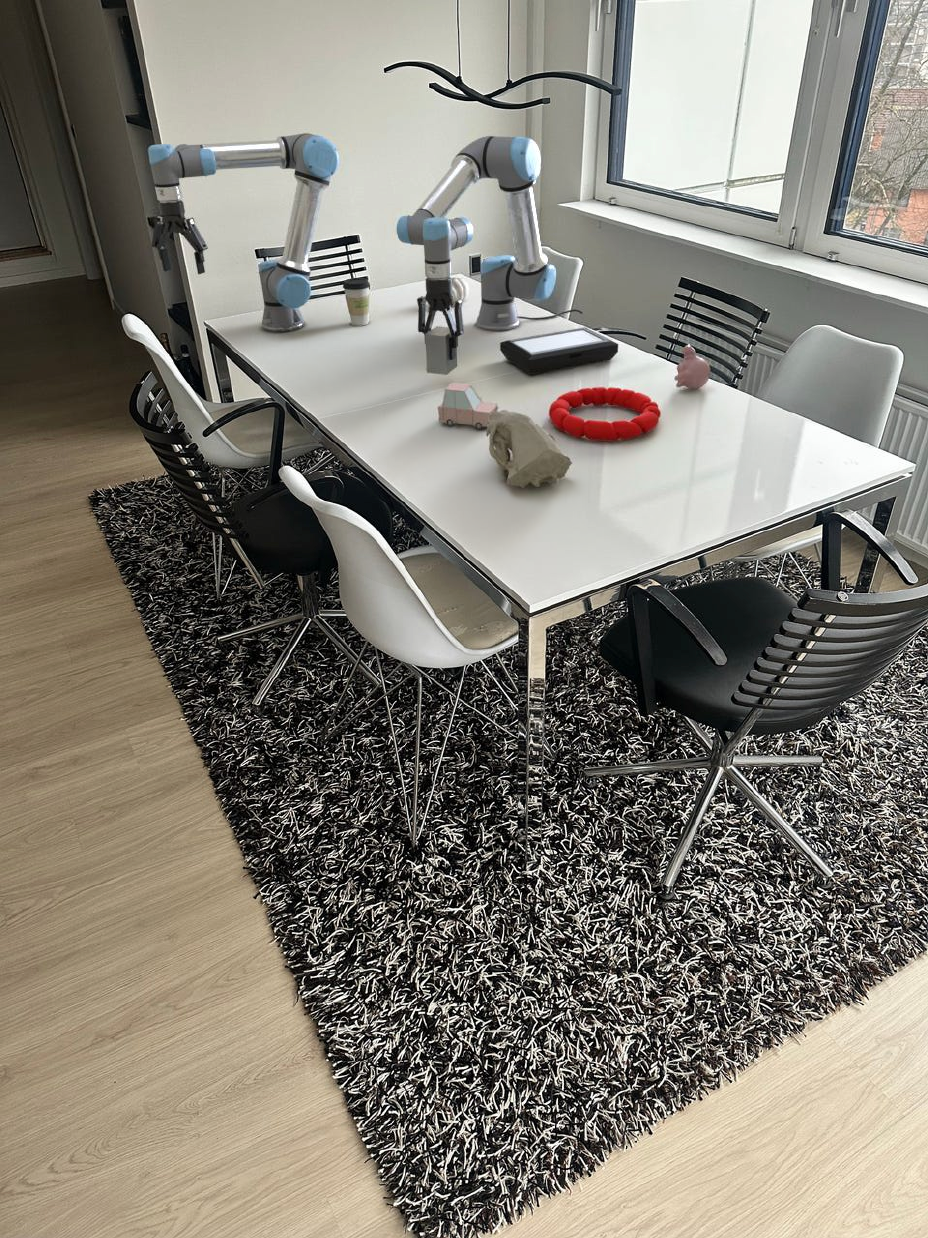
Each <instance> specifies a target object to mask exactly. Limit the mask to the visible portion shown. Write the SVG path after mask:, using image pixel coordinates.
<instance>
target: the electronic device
mask: <svg viewBox="0 0 928 1238" xmlns="http://www.w3.org/2000/svg"><path fill="white" fill-rule="evenodd" d="M499 350H500V353H502V355H503V356H504V358H505V359H506V360H507V361H508V362H510V363H511V364H512V365H515V366H517V367H518V368H520V369H521V370H523V371H525V372H526V373H528V374H529V375H530V376H532V375H535V374H542V373H547V372H548V373H549V372H552V371H558V370H564V369H570V368H575V367H580V366H586V365H592V364H597V363H602V362H608V361H611V360H612V359H613V358H614V357H615V356H616V355H617V354H618V352H619V343H617V342H616V341H613V340H612V339H609V338H607V337H605V336H603V335H601V334H599V333H597V332H595V331H594V330H591V329H589V328H587V327H585V326H584V327H579V328H572V329H566V330H561V331H555V332H549V333H543V334H537V335H532V336H525V337H519V338H514V339H508V340H505V341H502V342H499Z"/></svg>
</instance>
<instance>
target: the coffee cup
mask: <svg viewBox="0 0 928 1238" xmlns="http://www.w3.org/2000/svg"><path fill="white" fill-rule="evenodd" d="M370 287H371V283H370V282H369V279H367V278H365V277H351V278H347V279H345V280H344V281H343V285H342V288H343V290H344V297H345V301H346V305H347V310H348V314H349V318H350V323H351V325H353V326H357V327H359V326H365V325H368V324H369V317H370V316H369V313H370Z"/></svg>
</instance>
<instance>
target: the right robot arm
mask: <svg viewBox="0 0 928 1238" xmlns="http://www.w3.org/2000/svg"><path fill="white" fill-rule="evenodd" d="M541 163H542V157H541V152H540V149H539V146H538V144H537V142H535V141H534V140H533V139H532V138H529V137H523V136H519V135H518V136H499V135H497V136H496V135H495V136H494V135H486V136H482V137H479V138H477V139H475V140H474V141H471V142H470V143H469V144H468V145H467V144H466V146H464V147H463V148H462V149H461V150H459V152H458V153H457V154H456V155H455V157H454V158H453V159H452V161H451V164H450V168H449V169H448V170H447V172H446V173H445V174H444V176H443V177H442V178H441V179H440V181H439V182H438V183H437V184H436V186H435V187H434V188H433V190H432V191H430V193H429V194H428V196H427V197H426V198H425V199H424V200H423V202H422V203H421V204H420V206H419V207H418V208H417V209H416V210H415V211H414V213H413V214H412V215H410V214H407V215H403V216H401V217H399V219H398V220H397V223H396V235H397V238H398V240H399V241H400V242H401V243H404V244H408V245H409V244H410V245H411V246H413V245H416V246H423V253H424V275H425V291H426V292H425V295H424V296H423V295H421V296H419V297H418V298H417V299H416V302H417V305H418V306H417V307H418V310H417V311H418V313H417V332H418V333H422V334H423V336H424V337H425V334H426V333H428V332H429V331H431V330H432V329H433V324H434V320H435V317H436V313H437V312H442V315H443V317H444V318H445V322H446V324H447V327H449V330H450V333H451V337H450V338H449V348H450V360H453V359H454V358H455V357H456V348H457V349H458V347H459V337H461V336H462V335H463V334H464V333H465V329H464V320H463V312H462V310H463V309H462V307H463V303H462V300H461V299H460V300H457V299H454V298H453V295H452V278H453V277H452V272H453V271H452V251H453V250H457V249H459V248H463V247H464V246H466V245H467V244H469V243H470V242H471V241H472V240H473V237H474V227H473V224H472V222H471V221H470V220H469V219H467V218H466V217H464V216H461V217H455V218H452V219H451V218H447V215H448V214H449V213H450V212H451V210H453V208H454V206H455V205H456V203H458V201H459V200H460V198H461V197H462V196H463V195H464V194H465V192H466V191H467V190H468V188H469V187H470V186H471V187H472V186H474V185H476V184H477V182H478V181H479V180H481V179H494V180H497V182H498V187H499V190H500V191H502V192H503V193H504V195H505V201H506V206H507V212H508V217H509V223H510V229H511V235H512V240H513V246H514V252H515V257H514V255H511V254H502V255H496V256H491V257H488V258H485V259H484V260H482V261H481V264H480V274H479V275H480V296H481V302H480V303H481V304H480V308H479V312H478V316H477V318H476V326H477V327H478V329H481V330H485V331H490V332H502V331H510V330H513V329H516V328H518V327H519V326H520V319H522V320H529V321H534V320H536V321H538V320H548V319H553V318H556V317H557V316H561V315H564V314H568V313H569V314H570V313H572V312H577V313H579V314H580V315H583V314H584V313H583V311H581V310H579V309H575V308H574V309H569V310H565V311H560V312H558V313H555V314H553V315H549V316H544V317H543V316H541V317H529V316H528V317H527V316H519V315H518V311H517V307H516V304H515V298H516V299H524V300H533V301H534V302H536V301H546V300H548V299H549V298H550V296H551V295H552V293H553V291H554V287H555V284H556V278H557V270H556V267H555V266H554V265H552V264H549V262H548V257H547V255H546V254H545V253H544V252H542V246H541V238H540V231H539V225H538V218H537V211H536V205H535V197H534V191H533V186H534V185H535V183H536V180H537V179H538V177H539V176H540V172H541ZM451 303H453V304H451ZM426 304H428V305H429V306H428V307H429V308H428V311H427V305H426ZM451 305H452V307H453V312H454V316H453V313H452V308H451ZM426 311H427V313H428V314H427V315H426ZM426 317H427V318H426ZM424 344H425V346H426V343H425V342H424Z"/></svg>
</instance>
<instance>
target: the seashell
mask: <svg viewBox="0 0 928 1238" xmlns="http://www.w3.org/2000/svg"><path fill="white" fill-rule="evenodd" d="M451 278H452V295H453V298H454V299H457V300H460V299H461V300H462V304H463V303H464V302H465V301H466V299H467V298H468V296H469V295H470V286H469V284H468V283H467V281H466V280H464V279H463V278H462V277H461V278H460V277H451ZM451 305H453V303H451Z"/></svg>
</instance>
